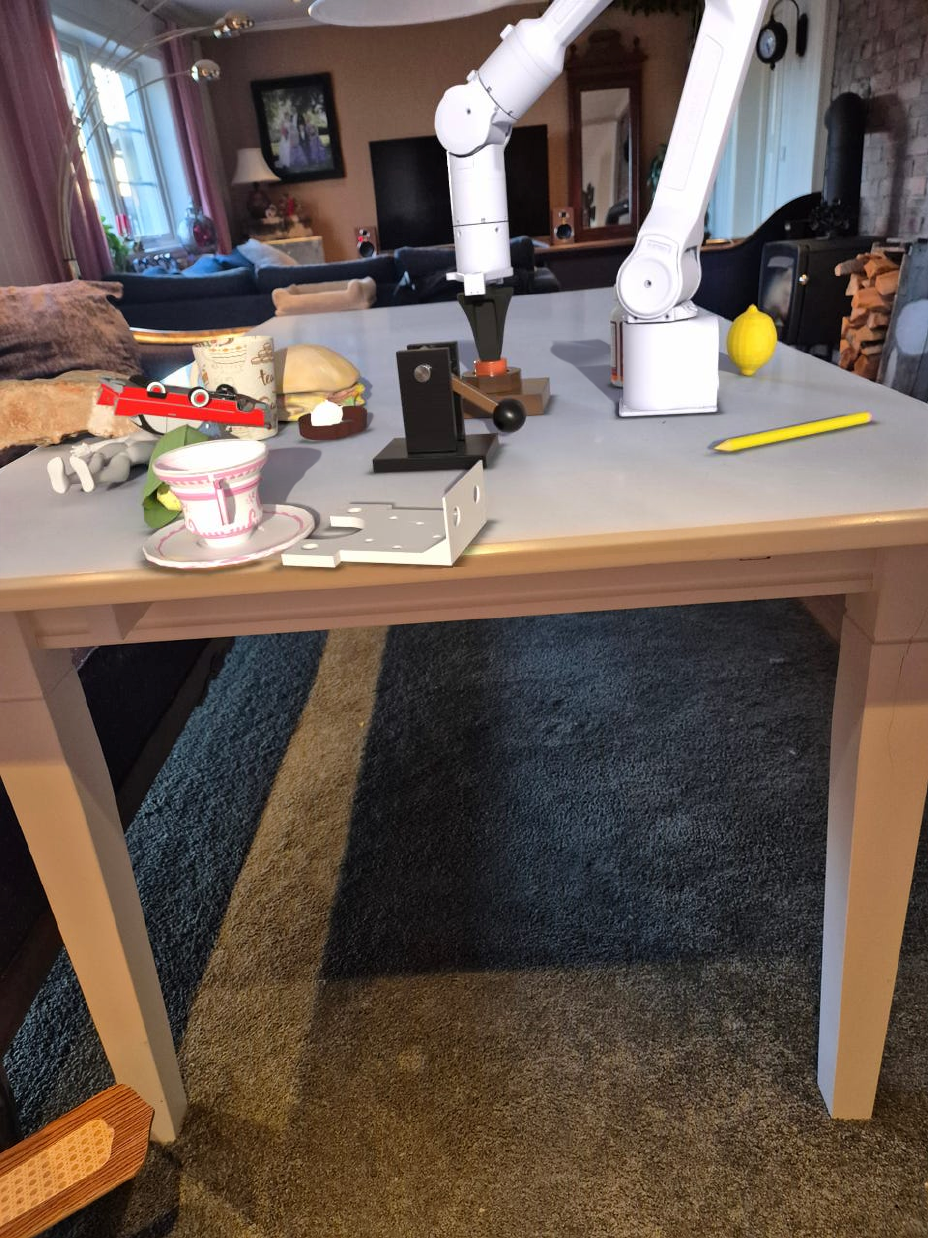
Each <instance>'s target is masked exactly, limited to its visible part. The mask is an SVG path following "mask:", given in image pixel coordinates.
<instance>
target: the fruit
mask: <svg viewBox="0 0 928 1238" xmlns="http://www.w3.org/2000/svg"><path fill="white" fill-rule="evenodd" d="M725 343H726V352H727V354H728V357H729V359H730V361H731V362H732V363H733V365H735V366H736V367H737V368H738V369H739V371H740V373H741V374H742V375H743V376H746V377H750V376H753V375H754V374H755V373H756V372H757V371H758V370H759V369H761V368H762V367H763V366H765V365H766V364H767V363H768V362H769V361H770V360H771V358H772V357H773V355H774V354H775V350H776V348H777V344H778V332H777V329H776V325H775V323H774V321H773V318H772V317H771V316H769V315H768V314H767V313H764V312H762V311H759V310H758V308H757V306H756V305H755V304H754V303H752V304H751V305H749V307H748V308H747V309H746V311H744V312H742V313H741V314H740V315H739V316H737V317H736V318H735V319H734V320H733V322H732V323H731V325H730V327H729V329H728V332H727V336H726V342H725Z"/></svg>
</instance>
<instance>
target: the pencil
mask: <svg viewBox="0 0 928 1238" xmlns="http://www.w3.org/2000/svg"><path fill="white" fill-rule="evenodd" d="M872 417H873V415H872V414H871V412H870V411H868V410H866V411H861V412H857V413H852V414H847V415H842V416H836V417H832V418H827V419H822V420H817V421H812V422H807V423H802V424H798V425H797V424H796V425H791V426H788V427H783V428H778V429H773V430H768V431H763V432H759V433H758V432H757V433H753V434H748V435H743V436H739V437H733V438H727V439H726V440H725V441H722V442H721V443H720V444H718V445H717V446H714V448H713V450H718V451H722V452H727V453H728V452H729V453H730V452H733V451H738V450H743V449H749V448H752V447H757V446H762V445H767V444H771V443H776V442H780V441H781V442H782V441H786V440H792V439H795V438H800V437H805V436H809V435H815V434H819V433H825V432H828V431H833V430H838V429H843V428H848V427H853V426H857V425H863V424H867V423H868V424H869V423H870V422H871V420H872Z"/></svg>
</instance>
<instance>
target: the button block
mask: <svg viewBox="0 0 928 1238" xmlns="http://www.w3.org/2000/svg"><path fill="white" fill-rule="evenodd" d="M460 377H461V379H462V380H464V381H466V382H467V383H469V384H471V385H472V386H474V387H476V388H478V389H479V390H481V391H483V392H484V393H486V394H488V395H489V396H491V397H493V398H494V399H496V400H498V401H500V400H502V399H505V398H514V399H517V400H518V401H520V402H521V403H522V404H523V406H524V408H525V410H526V416H539V415H544V414H545V413H544V412H545V410H546V408H547V406H548V403H549V400H550V398H551V383H550V381H551V380H550V377H549V376H548V377H547V376H546V377H545V376H544V377H530V378H529V377H528V378H522V368H520V367H516V366H507V372H505V373H500V374H493V375H475V368H474V369H469V370H466V371H463V372H462V373H460ZM462 400H463V412H464V419H479V418H480V419H481V418H483V419H484V418H492V413H490V412H489V411H487V410H485V409H484V408H482V407H480V406H478V405H477V404H475V403H473V402H472V401H470V400H468V399H467V398H465V397H463V396H462Z"/></svg>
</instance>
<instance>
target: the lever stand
mask: <svg viewBox="0 0 928 1238" xmlns="http://www.w3.org/2000/svg"><path fill="white" fill-rule="evenodd" d="M423 346H426V347H428V348H429V349H420V348H422V347H423ZM459 354H460V353H459V343H458V340H451V341H434V342H421V343H420V342H418V343H409V344H407V345H406V349H404V350H403V349H401V350H397V351H396V352H395V357H396V358H395V359H396V367H397V376H398V384H399V393H400V394H399V395H400V402H401V409H402V410H401V411H402V419H403V426H404V427H403V428H404V436H405V437H394V438H393V439H391V441H390V442H388V444H387V445H385V446H384V447H383V449H381V450H380V452H378V453H377V455H376V456H374V457H373V458H372V459H371V460H372V468H373V473H375V474H379V473H403V472H405V473H406V472H426V471H428V472H429V471H454V470H470V469H471V468H472V467H473V466H474V465H475V464H476V463H477V462H478V461H479V460H482V465H483V469H487V468H488V466H489V464H490V462H491V461H492V459H493V457H494V455H495V454H496V452H497V450H498V449H499V446H500V441H499V433H498V432H493V433H491V432H490V433H469V434H466V425H465V418H464V412H463V400H462V395H460V394H458V393H457V392H455V391H453V386H452V374H454V375H456V376H457V377H459V378H461V365H460V356H459ZM450 361H451V362H452V363H450ZM451 373H452V374H451Z"/></svg>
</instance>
